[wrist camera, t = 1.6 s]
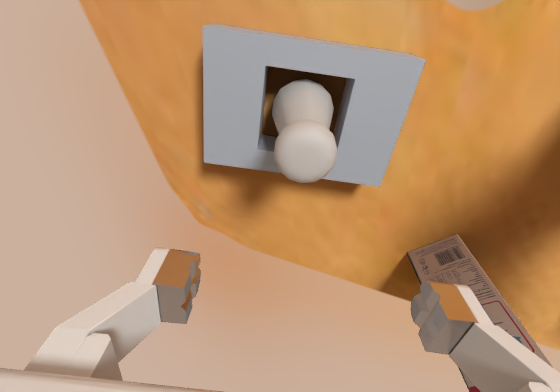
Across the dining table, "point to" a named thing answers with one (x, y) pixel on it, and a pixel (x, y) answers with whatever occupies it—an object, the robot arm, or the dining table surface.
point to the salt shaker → (304, 131)
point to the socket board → (310, 58)
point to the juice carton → (466, 271)
